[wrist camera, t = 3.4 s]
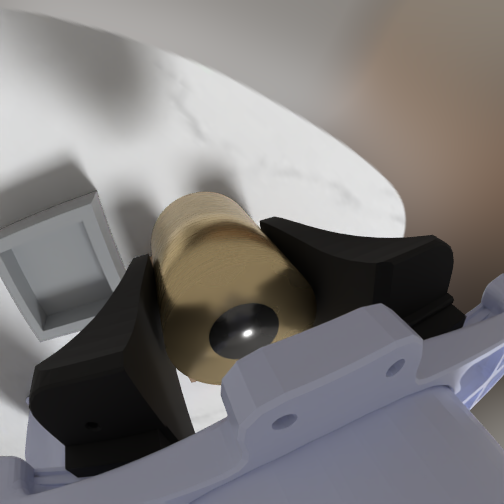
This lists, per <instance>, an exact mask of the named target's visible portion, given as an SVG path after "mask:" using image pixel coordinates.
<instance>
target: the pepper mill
mask: <svg viewBox="0 0 504 504" xmlns="http://www.w3.org/2000/svg"><path fill="white" fill-rule="evenodd" d="M151 249H152V258H153V267H154V276H155V284H156V292H157V299H158V306H159V313H160V320H161V326H162V332H163V338H164V344H165V349H166V352H167V355H168V357H169V359H170V360H171V362H172V364H173V365H174V366H175V367H176V368H177V369H178V370H179V371H180V372H182V373H183V374H184V375H186V376H188V377H189V378H191V379H194V380H196V381H199V382H203V383H207V384H213V385H221V382H222V378H223V377H224V376H225V375H226V374H227V372H228V371H229V370H230V369H231V368H232V366H233V365H234V364H235V363H236V361H238V360H239V359H241V358H243V357H244V356H246V355H248V354H250V353H252V352H253V351H255V350H257V349H259V348H261V347H264V346H266V345H269V344H272V343H275V342H277V341H280V340H283V339H285V338H288V337H290V336H293V335H296V334H298V333H301V332H303V331H306V330H308V329H311V328H313V325H314V322H315V318H316V308H317V306H316V298H315V295H314V292H313V290H312V288H311V286H310V284H309V283H308V282H307V280H306V279H305V278H304V277H303V276H302V274H301V273H300V272H299V271H298V270H297V269H296V268H295V267H294V265H293V264H292V263H291V262H290V261H289V260H288V259H287V258H286V257H285V255H284V254H283V253H282V252H281V251H280V250H279V249H278V248H277V246H276V245H275V244H274V243H273V242H272V241H271V240H270V239H269V238H268V237H267V235H266V234H265V233H264V232H263V231H262V230H261V229H260V228H259V227H258V225H257V224H256V223H255V222H254V221H253V220H252V219H251V218H250V217H249V216H248V214H247V213H246V212H245V211H244V210H243V209H242V208H241V207H240V206H239V205H238V204H237V203H236V202H235V201H233V200H232V199H230V198H229V197H227V196H225V195H222V194H219V193H214V192H196V193H191V194H188V195H185V196H183V197H181V198H179V199H177V200H175V201H174V202H172V203H171V204H170V205H169V206H168V207H166V208H165V209H164V211H163V212H162V213H161V214H160V216H159V217H158V219H157V221H156V223H155V225H154V228H153V231H152V236H151Z"/></svg>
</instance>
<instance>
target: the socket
mask: <svg viewBox="0 0 504 504" xmlns="http://www.w3.org/2000/svg"><path fill="white" fill-rule="evenodd" d="M125 272H126V269H125V267H124V264H123V262H122V259H121V257H120V254H119V252H118V249H117V246H116V244H115V241H114V238H113V236H112V233H111V230H110V228H109V225H108V222H107V219H106V216H105V213H104V210H103V208H102V205H101V202H100V199H99V195H98V192H97V191H95V192H92V193H89V194H86V195H84V196H81V197H78V198H75V199H73V200H70V201H67V202H65V203H62V204H59V205H57V206H54V207H52V208H49V209H47V210H44V211H42V212H39V213H37V214H34V215H32V216H30V217H27V218H25V219H23V220H20V221H18V222H16V223H13V224H11V225H9V226H7V227H4V228H2V229H0V277H1V279H2V281H3V283H4V284H5V286H6V288H7V290H8V292H9V293H10V295H11V297H12V299H13V300H14V302H15V304H16V305H17V307H18V309H19V310H20V312H21V314H22V315H23V317H24V319H25V320H26V322H27V323H28V325H29V326H30V328H31V329H32V331H33V332H34V334H35V335H36V337H37V338H38V340H39V341H40V342H42V341H46V340H50V339H53V338H57V337H60V336H64V335H67V334H71V333H75V332H78V331H82V330H83V329H84V328H85V327H86V326H87V325H88V324H89V323H90V321H91V320H92V319H93V318H94V317H95V316H96V315H97V314H98V312H99V311H100V310H101V309H102V308H103V306H104V305H105V304H106V302H107V301H108V299H109V298H110V296H111V295H112V293H113V292H114V290H115V289H116V287H117V286H118V284H119V283H120V281H121V279H122V277H123V276H124V274H125Z"/></svg>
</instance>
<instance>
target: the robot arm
mask: <svg viewBox="0 0 504 504" xmlns="http://www.w3.org/2000/svg"><path fill="white" fill-rule="evenodd" d="M260 227H261V230H262V231H263V232H264V233H265V234H266V235H267V237H268V238H269V239H270V240H271V241H272V242H273V243H274V244H275V245H276V246H277V248H278V249H279V250H280V251H281V252H282V253H283V254H284V255H285V257H286V258H287V259H288V260H289V261H290V262H291V263H292V264H293V265H294V267H295V268H296V269H297V270H298V271H299V272H300V273H301V274H302V276H303V277H304V278H305V279H306V280H307V282H308V283H309V284H310V286H311V288H312V290H313V292H314V295H315V298H316V306H317V308H316V318H315V322H314V325H313V328H311V329H308V330H306V331H303V332H301V333H298V334H296V335H293V336H290V337H288V338H285V339H283V340H280V341H277V342H275V343H272V344H269V345H266V346H264V347H261V348H259V349H257V350H255V351H253V352H252V353H250V354H248V355H246V356H244V357H243V358H241V359H239V360H238V361H236V363H235V364H234V365H233V366H232V368H231V369H230V370H229V371H228V372H227V374H226V375H225V376H224V377H223V378H222V382H221V397H222V400H223V403H224V406H225V409H226V411H227V414H228V416H227V417H226V418H224V419H222V420H220V421H218V422H216V423H214V424H213V425H211V426H209V427H207V428H205V429H203V430H201V431H199V432H197V433H195V431H194V428H193V425H192V423H191V420H190V417H189V413H188V410H187V407H186V404H185V400H184V397H183V394H182V390H181V387H180V383H179V379H178V376H177V372H176V367H175V366H174V365H173V364H172V362H171V360H170V359H169V357H168V355H167V352H166V349H165V344H164V338H163V332H162V326H161V320H160V313H159V306H158V299H157V292H156V284H155V276H154V268H153V265H152V262H151V260H150V257H149V254H146V255H143V256H140V257H137V258H134V259H133V260H132V262H131V264H130V265H129V267H128V269H127V271H126V272H125V274H124V276H123V277H122V279H121V281H120V283H119V284H118V286H117V287H116V289H115V290H114V292H113V293H112V295H111V296H110V298H109V299H108V301H107V302H106V304H105V305H104V306H103V308H102V309H101V310H100V311H99V312H98V314H97V315H96V316H95V317H94V318H93V319H92V320H91V321H90V323H89V324H88V325H87V326H86V327H85V328H84V329H83V330H82V331H81V332H80V333H79V334H78V335H77V336H75V337H74V338H73V339H72V340H71V341H70V342H68V343H67V344H66V345H65V346H64V347H62V348H61V349H60V350H58V351H57V352H56V353H54V354H53V355H51V356H50V357H48V358H47V359H46V360H44V361H43V362H41V363H40V364H38V365H36V366H35V370H34V375H33V380H32V385H31V390H30V396H29V397H27V398H26V403H27V404H28V405H29V409H30V412H29V419H28V427H27V436H26V447H25V458H26V461H24V460H23V459H21V458H18V457H15V456H0V504H504V449H503V448H502V447H501V446H500V445H499V444H498V442H497V441H496V440H495V439H494V438H493V437H492V435H491V434H490V433H489V432H488V431H487V430H486V429H485V427H484V426H483V425H482V424H481V423H480V422H479V421H478V420H477V418H476V417H475V416H474V415H473V414H472V413H471V412H470V411H469V410H470V409H471V408H472V407H473V406H474V405H475V404H476V403H477V402H478V401H479V400H480V399H481V398H482V397H483V396H484V395H485V394H486V393H487V392H488V391H489V390H490V389H491V388H492V387H493V386H494V385H495V383H497V381H498V380H499V379H500V378H501V377H502V376H503V375H504V274H501V275H500V276H498V277H497V278H496V279H495V280H493V281H492V282H490V283H489V284H488V286H487V287H486V289H485V291H484V293H483V296H482V300H481V303H480V304H479V305H478V306H477V307H476V308H474V309H472V310H471V311H470V312H468V313H467V314H466V315H464V314H463V313H462V312H461V311H459V310H458V309H457V308H456V307H455V306H453V305H452V303H453V301H454V299H453V297H452V296H451V295H450V294H448V293H447V290H448V287H449V283H450V278H451V274H452V270H453V262H454V261H453V252H452V249H451V247H450V246H449V245H448V244H447V243H445V242H444V241H442V240H440V239H439V238H437V237H436V236H434V235H428V236H417V237H407V238H375V237H361V236H353V235H346V234H340V233H335V232H330V231H326V230H322V229H318V228H314V227H310V226H307V225H304V224H300V223H297V222H293V221H290V220H287V219H283V218H279V217H271V218H268V219H264V220H261V221H260Z"/></svg>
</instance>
